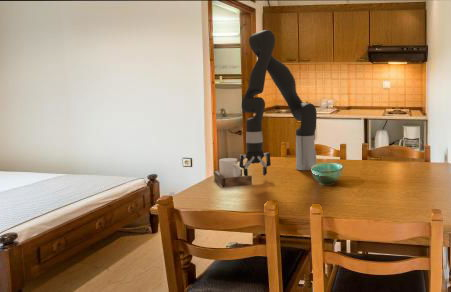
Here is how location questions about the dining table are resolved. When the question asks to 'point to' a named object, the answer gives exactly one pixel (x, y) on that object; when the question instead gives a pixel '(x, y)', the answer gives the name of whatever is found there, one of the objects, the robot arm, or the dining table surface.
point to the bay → (232, 180)
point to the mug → (229, 167)
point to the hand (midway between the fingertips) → (255, 176)
